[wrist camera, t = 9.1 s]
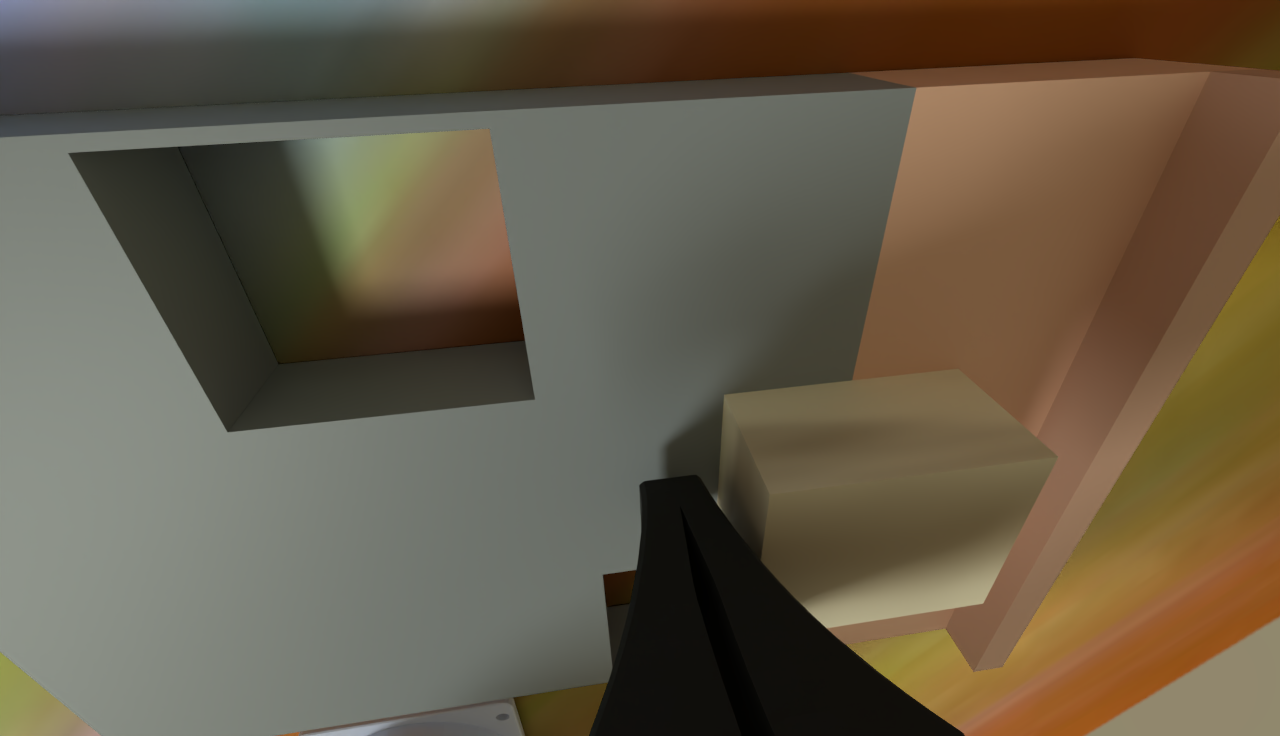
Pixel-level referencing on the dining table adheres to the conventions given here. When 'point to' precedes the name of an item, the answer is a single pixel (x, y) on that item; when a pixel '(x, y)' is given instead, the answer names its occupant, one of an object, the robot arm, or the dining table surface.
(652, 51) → the dining table surface
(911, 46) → the dining table surface
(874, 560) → the beech block
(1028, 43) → the dining table surface
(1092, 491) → the board
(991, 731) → the dining table surface
